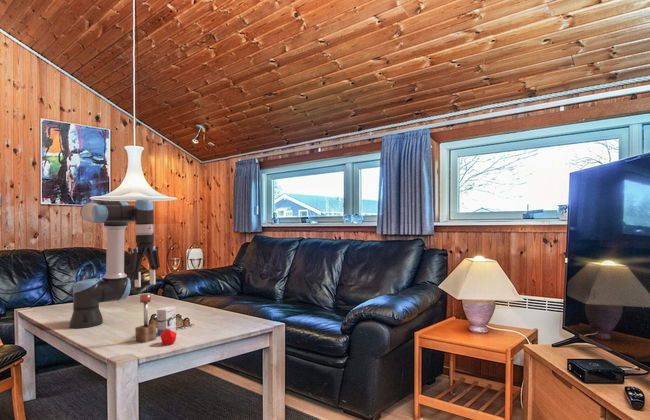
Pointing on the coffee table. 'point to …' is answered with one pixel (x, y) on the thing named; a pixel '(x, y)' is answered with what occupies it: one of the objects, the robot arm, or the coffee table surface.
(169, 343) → the apple
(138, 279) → the robot arm
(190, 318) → the coffee table surface
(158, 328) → the ink box
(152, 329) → the awl socket
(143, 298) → the awl
